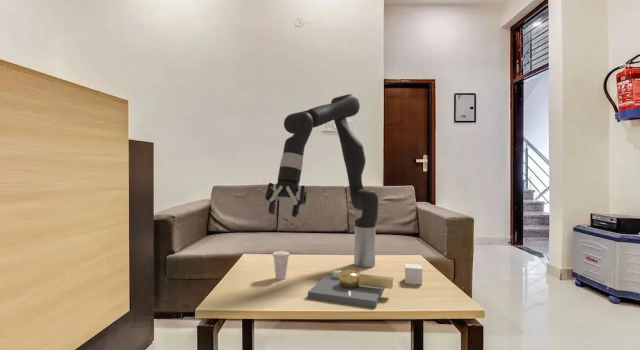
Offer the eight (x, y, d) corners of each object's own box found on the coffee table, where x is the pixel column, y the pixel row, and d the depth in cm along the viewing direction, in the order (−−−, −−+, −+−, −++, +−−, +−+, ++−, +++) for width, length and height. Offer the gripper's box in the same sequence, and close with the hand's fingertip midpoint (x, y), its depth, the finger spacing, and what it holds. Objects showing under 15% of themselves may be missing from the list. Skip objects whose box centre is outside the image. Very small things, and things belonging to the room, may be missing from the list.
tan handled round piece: (336, 286, 113) (336, 274, 113) (342, 280, 119) (342, 269, 119) (390, 293, 107) (390, 281, 107) (393, 286, 113) (393, 275, 113)
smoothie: (286, 281, 124) (286, 244, 124) (269, 280, 125) (270, 243, 125) (291, 276, 130) (291, 240, 130) (275, 275, 132) (276, 239, 132)
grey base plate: (328, 278, 129) (328, 266, 129) (386, 285, 122) (386, 272, 122) (307, 297, 108) (308, 283, 108) (375, 307, 101) (375, 292, 101)
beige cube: (422, 285, 123) (422, 268, 122) (405, 283, 124) (405, 267, 124) (420, 280, 128) (421, 264, 128) (404, 278, 130) (405, 263, 130)
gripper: (313, 172, 115) (306, 219, 112) (278, 169, 120) (269, 214, 117) (304, 166, 108) (296, 216, 105) (267, 164, 114) (258, 211, 110)
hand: (282, 215), depth 111 cm, fingers open, 8 cm apart
